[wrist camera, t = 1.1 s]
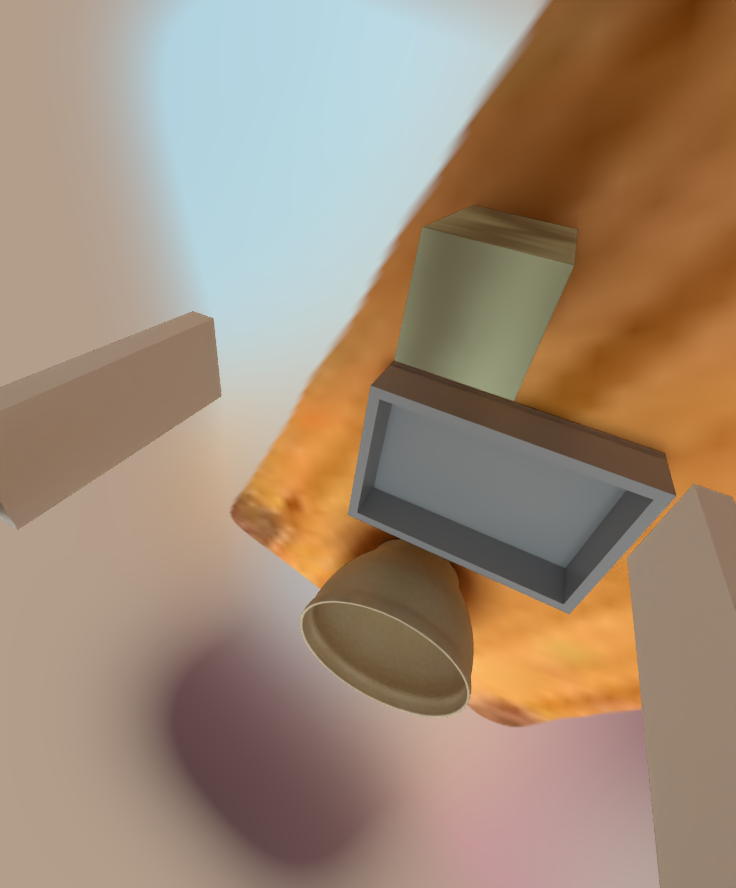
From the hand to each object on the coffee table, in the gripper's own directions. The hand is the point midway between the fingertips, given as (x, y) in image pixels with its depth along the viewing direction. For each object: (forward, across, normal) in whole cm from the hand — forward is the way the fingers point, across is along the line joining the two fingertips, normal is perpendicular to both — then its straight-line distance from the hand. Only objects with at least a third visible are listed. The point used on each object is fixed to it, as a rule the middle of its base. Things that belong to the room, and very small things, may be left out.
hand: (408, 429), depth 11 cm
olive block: (+19, 0, 0) cm, 19 cm away
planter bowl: (+19, +1, -31) cm, 36 cm away
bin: (+19, +4, -15) cm, 24 cm away
